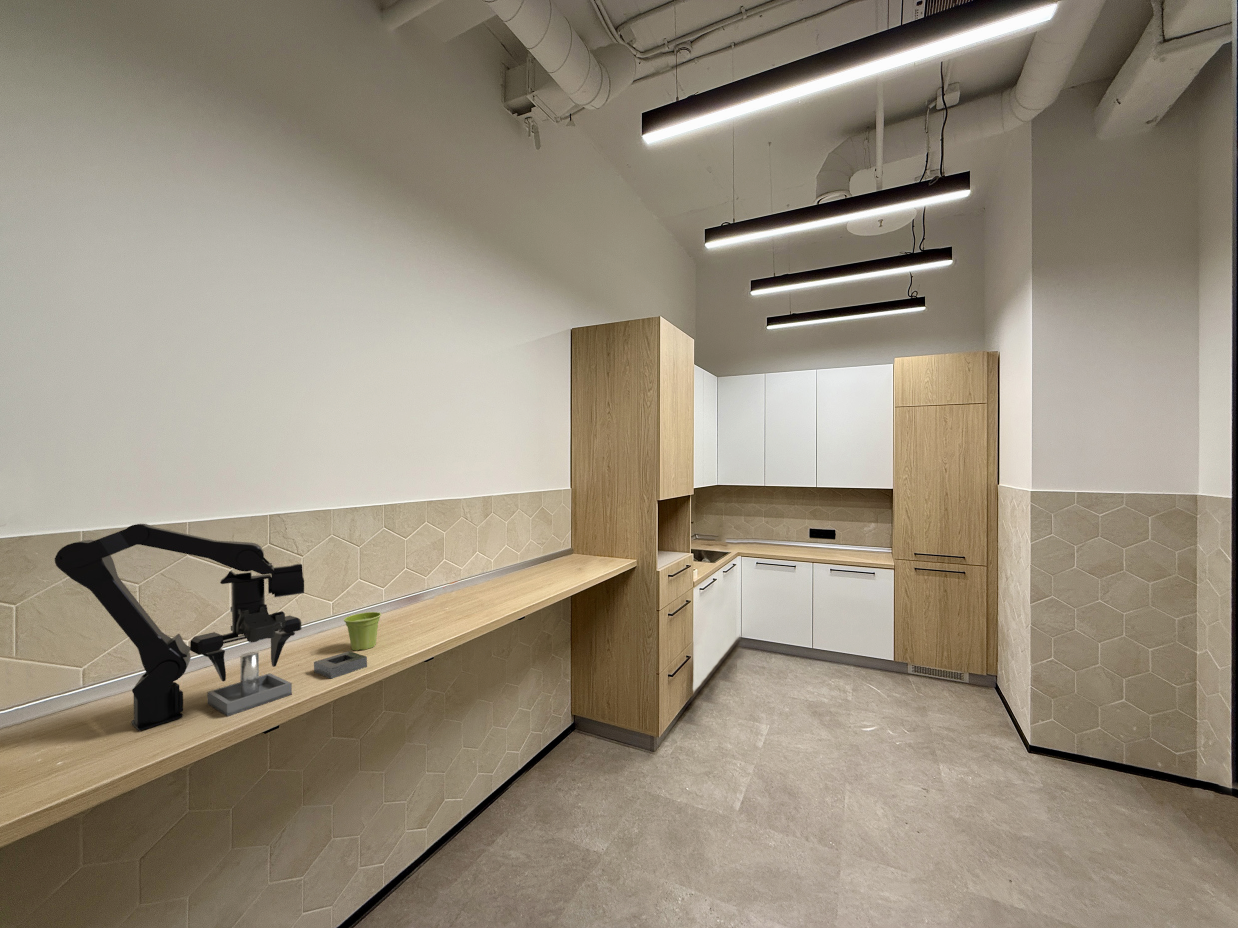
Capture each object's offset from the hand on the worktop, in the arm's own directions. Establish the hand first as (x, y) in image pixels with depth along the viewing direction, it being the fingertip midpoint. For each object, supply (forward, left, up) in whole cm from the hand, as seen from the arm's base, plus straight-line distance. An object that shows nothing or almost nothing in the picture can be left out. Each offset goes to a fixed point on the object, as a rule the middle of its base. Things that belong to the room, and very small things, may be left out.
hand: (249, 673), depth 107 cm
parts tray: (0, 0, -6) cm, 6 cm away
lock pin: (0, 0, -5) cm, 5 cm away
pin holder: (+19, 0, -6) cm, 20 cm away
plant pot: (+31, +12, -6) cm, 34 cm away
